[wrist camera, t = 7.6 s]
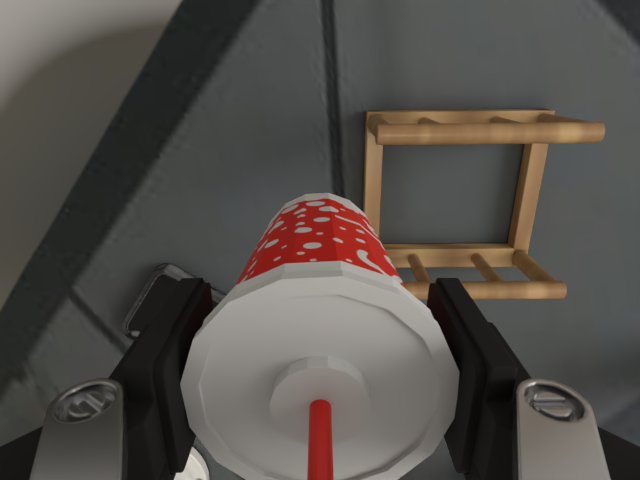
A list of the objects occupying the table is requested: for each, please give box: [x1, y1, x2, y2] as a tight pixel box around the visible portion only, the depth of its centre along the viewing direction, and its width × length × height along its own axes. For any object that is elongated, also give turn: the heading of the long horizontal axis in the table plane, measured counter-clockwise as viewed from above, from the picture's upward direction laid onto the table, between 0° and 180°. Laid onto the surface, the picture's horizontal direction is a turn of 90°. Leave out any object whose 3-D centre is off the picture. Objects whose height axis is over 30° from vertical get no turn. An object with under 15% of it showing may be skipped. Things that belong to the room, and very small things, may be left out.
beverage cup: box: [180, 193, 460, 480], centre depth 11 cm, size 6×6×14 cm
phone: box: [121, 264, 226, 341], centre depth 37 cm, size 8×1×15 cm
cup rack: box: [363, 109, 605, 300], centre depth 29 cm, size 13×12×7 cm
